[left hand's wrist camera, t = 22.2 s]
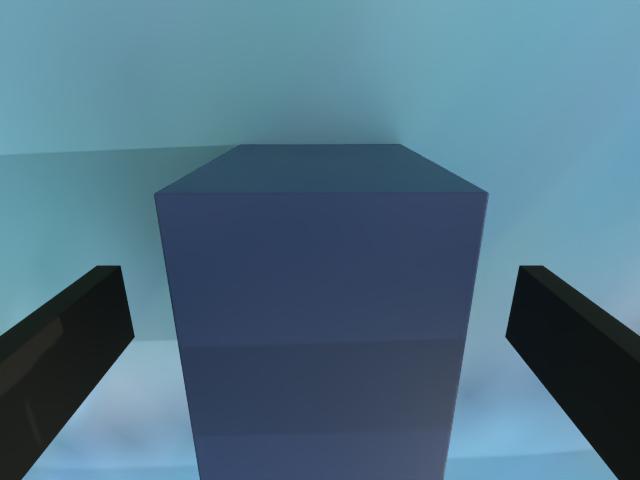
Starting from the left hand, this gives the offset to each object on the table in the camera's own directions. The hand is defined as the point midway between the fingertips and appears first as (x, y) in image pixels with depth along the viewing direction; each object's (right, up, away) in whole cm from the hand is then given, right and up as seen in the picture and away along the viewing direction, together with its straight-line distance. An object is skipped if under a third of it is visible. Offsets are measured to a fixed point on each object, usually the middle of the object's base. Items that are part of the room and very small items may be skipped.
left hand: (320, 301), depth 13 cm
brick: (0, +2, +4) cm, 5 cm away
